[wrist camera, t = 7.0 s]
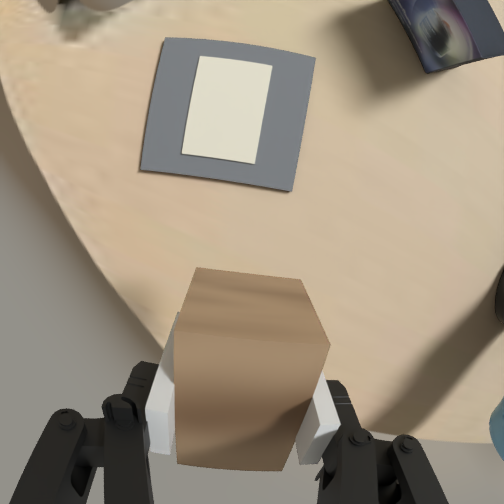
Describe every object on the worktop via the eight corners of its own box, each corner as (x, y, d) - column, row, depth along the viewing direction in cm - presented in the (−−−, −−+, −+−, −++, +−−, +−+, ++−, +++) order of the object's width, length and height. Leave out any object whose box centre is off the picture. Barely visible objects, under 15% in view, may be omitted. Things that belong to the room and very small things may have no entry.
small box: (382, -2, 22) (425, -41, 12) (420, -6, 22) (466, -36, 12) (424, 75, 25) (482, 58, 16) (458, 67, 25) (515, 53, 15)
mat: (314, 59, 25) (316, 57, 25) (291, 190, 29) (292, 191, 29) (166, 39, 24) (164, 36, 23) (142, 169, 28) (139, 169, 27)
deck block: (272, 398, 17) (281, 471, 12) (189, 390, 17) (177, 463, 11) (300, 279, 15) (330, 344, 9) (196, 267, 14) (173, 330, 9)
